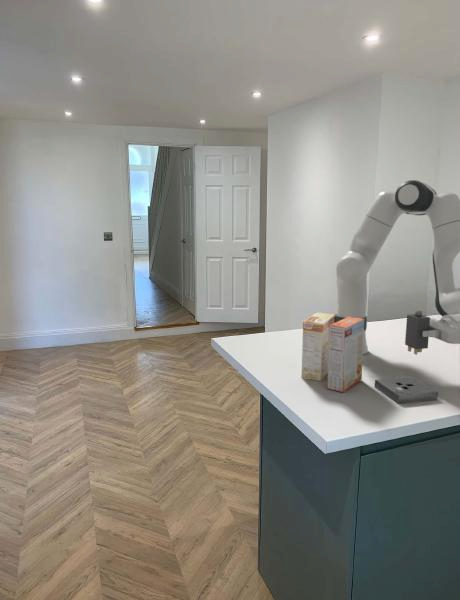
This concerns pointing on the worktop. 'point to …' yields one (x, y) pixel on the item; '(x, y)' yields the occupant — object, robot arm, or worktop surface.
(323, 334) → the coffeecake box
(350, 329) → the cracker box
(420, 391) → the socket plate
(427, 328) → the plug
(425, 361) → the worktop surface
